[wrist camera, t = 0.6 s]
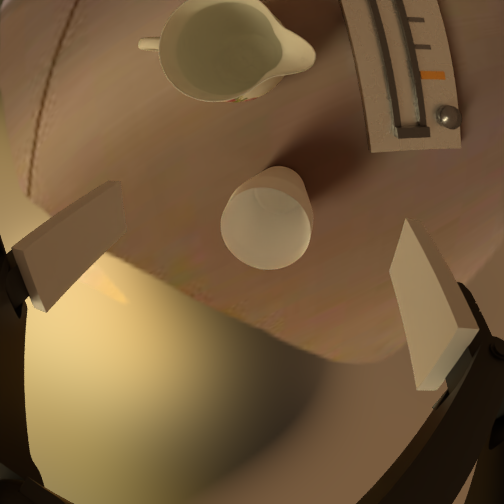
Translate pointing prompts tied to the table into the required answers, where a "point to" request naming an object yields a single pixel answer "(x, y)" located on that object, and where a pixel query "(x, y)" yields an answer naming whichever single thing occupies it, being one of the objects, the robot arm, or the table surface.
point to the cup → (268, 219)
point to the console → (403, 74)
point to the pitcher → (227, 50)
